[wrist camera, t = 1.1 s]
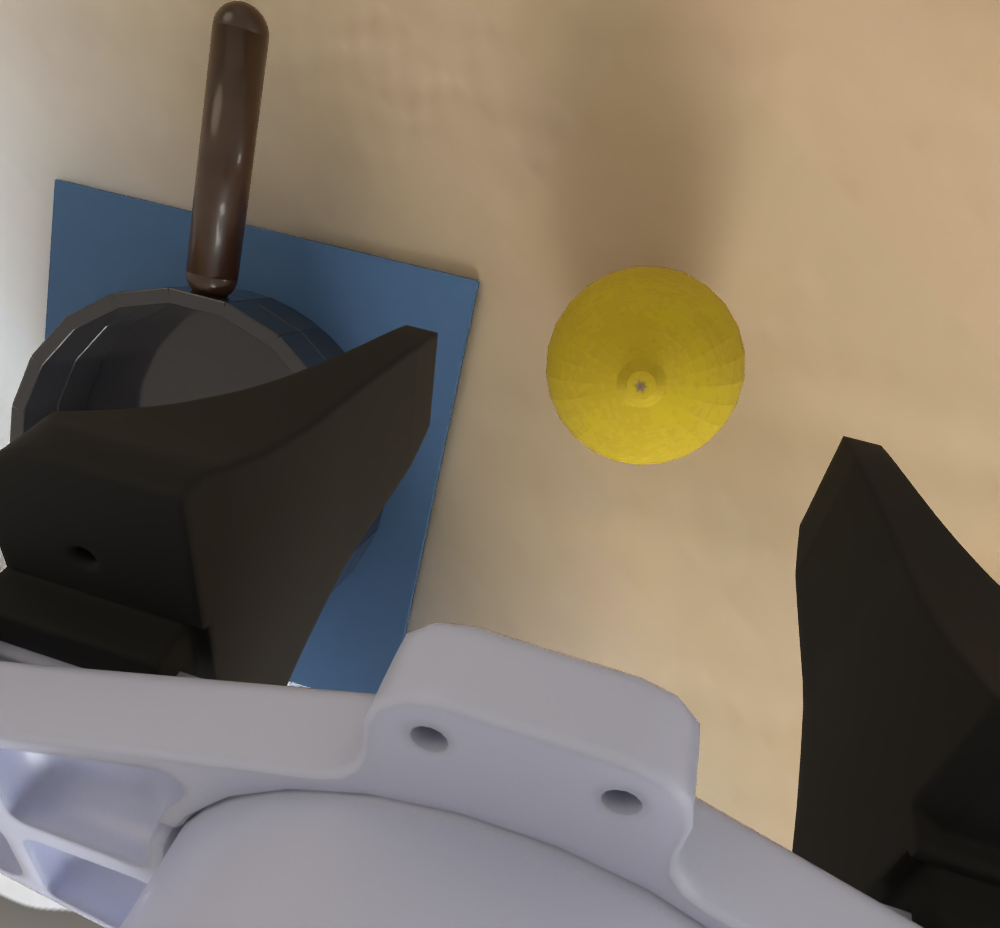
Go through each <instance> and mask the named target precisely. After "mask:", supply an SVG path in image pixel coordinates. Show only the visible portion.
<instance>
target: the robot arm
mask: <svg viewBox="0 0 1000 928" xmlns="http://www.w3.org/2000/svg"><path fill="white" fill-rule="evenodd" d="M437 340H438V333H437V332H433V331H429V330H425V329H421V328H417V327H413V326H409V325H405V326H402V327H399V328H397V329H395V330H392V331H390V332H388V333H386V334H384V335H381V336H379V337H377V338H375V339H373V340H371V341H369V342H367V343H365V344H362V345H360V346H358V347H356V348H354V349H352V350H349V351H347V352H345V353H343V354H341V355H338V356H336V357H334V358H332V359H329V360H327V361H324V362H322V363H319V364H317V365H314V366H312V367H309V368H307V369H304V370H302V371H299V372H297V373H294V374H292V375H289V376H286V377H283V378H280V379H278V380H274V381H271V382H268V383H265V384H261V385H258V386H254V387H251V388H247V389H244V390H240V391H236V392H232V393H227V394H222V395H217V396H212V397H207V398H202V399H197V400H192V401H187V402H181V403H174V404H166V405H159V406H150V407H140V408H130V409H117V410H91V411H53V412H52V413H50V414H49V415H48V416H46V417H45V418H44V419H42V420H41V421H40V422H38V423H37V424H36V425H34V426H33V427H31V428H30V429H29V430H27V431H26V432H25V433H23V434H22V435H21V436H19V437H18V438H17V439H15V440H14V441H13V442H11V443H10V444H9V445H7V446H6V447H4V448H3V449H2V450H0V548H1V551H2V553H3V556H4V559H5V562H6V565H7V567H6V568H5V569H4V570H3V571H2V572H1V573H0V873H1V874H3V875H5V876H7V877H9V878H10V879H12V880H14V881H16V882H18V883H20V884H22V885H24V886H26V887H28V888H30V889H32V890H34V891H35V892H37V893H39V894H41V895H43V896H45V897H47V898H49V899H51V900H53V901H55V902H57V903H59V904H60V905H62V906H64V907H66V908H68V909H70V910H72V911H74V912H76V913H78V914H80V915H82V916H84V917H86V918H87V919H89V920H91V921H93V922H95V923H97V924H99V925H101V926H103V927H105V928H1000V586H999V585H998V584H997V583H996V582H995V581H994V580H993V579H992V578H991V577H990V576H989V575H988V574H987V573H986V572H985V571H984V570H983V569H982V568H981V567H980V565H979V564H978V563H977V562H976V561H975V560H974V559H973V558H972V557H971V556H970V554H969V553H968V552H967V551H966V550H965V549H964V548H963V547H962V546H961V545H960V543H959V542H958V541H957V540H956V539H955V538H954V537H953V535H952V534H951V533H950V532H949V531H948V529H947V528H946V527H945V526H944V525H943V523H942V522H941V521H940V520H939V519H938V517H937V516H936V515H935V514H934V512H933V511H932V510H931V509H930V507H929V506H928V505H927V504H926V502H925V501H924V500H923V498H922V497H921V496H920V495H919V493H918V492H917V491H916V489H915V488H914V487H913V485H912V484H911V483H910V481H909V480H908V479H907V477H906V476H905V475H904V474H903V472H902V471H901V470H900V468H899V467H898V466H897V464H896V463H895V462H894V461H893V459H892V458H891V457H890V456H889V454H888V453H887V452H886V451H885V450H884V449H883V447H882V446H880V445H876V444H873V443H869V442H865V441H861V440H857V439H853V438H849V437H845V436H843V438H842V440H841V442H840V445H839V447H838V449H837V451H836V453H835V455H834V457H833V459H832V461H831V463H830V465H829V467H828V469H827V471H826V473H825V475H824V477H823V479H822V481H821V483H820V485H819V487H818V489H817V492H816V494H815V496H814V498H813V500H812V502H811V504H810V506H809V508H808V510H807V512H806V514H805V516H804V518H803V520H802V522H801V524H800V528H799V538H798V548H797V561H796V592H797V608H798V622H799V636H800V649H801V663H802V677H803V721H802V740H801V758H800V771H799V785H798V798H797V810H796V820H795V830H794V840H793V850H792V852H791V851H789V850H788V849H786V848H784V847H782V846H781V845H779V844H777V843H775V842H774V841H772V840H770V839H769V838H767V837H765V836H763V835H762V834H760V833H758V832H756V831H755V830H753V829H751V828H749V827H748V826H746V825H744V824H742V823H741V822H739V821H737V820H736V819H734V818H732V817H730V816H729V815H727V814H725V813H723V812H722V811H720V810H718V809H716V808H715V807H713V806H711V805H709V804H708V803H706V802H704V801H702V800H701V799H699V798H697V797H696V796H695V794H696V782H697V771H698V759H699V743H700V723H699V722H698V721H697V719H696V718H695V717H694V716H693V714H692V713H691V712H690V711H689V709H688V708H687V707H686V706H685V704H684V703H683V702H682V701H681V699H680V698H679V697H678V696H676V695H675V694H673V693H671V692H669V691H667V690H665V689H663V688H661V687H659V686H657V685H655V684H653V683H651V682H649V681H647V680H645V679H643V678H641V677H638V676H635V675H632V674H628V673H625V672H622V671H618V670H615V669H612V668H609V667H605V666H602V665H599V664H596V663H592V662H589V661H586V660H582V659H579V658H576V657H573V656H569V655H566V654H563V653H559V652H556V651H553V650H550V649H546V648H543V647H540V646H537V645H533V644H530V643H527V642H523V641H520V640H517V639H514V638H510V637H507V636H504V635H501V634H497V633H494V632H491V631H487V630H484V629H481V628H478V627H474V626H465V625H457V624H448V623H433V624H430V625H428V626H425V627H422V628H419V629H416V630H414V631H411V632H408V633H407V634H406V636H405V638H404V639H403V641H402V643H401V645H400V647H399V649H398V651H397V652H396V654H395V656H394V658H393V660H392V662H391V665H390V667H389V669H388V671H387V673H386V675H385V677H384V679H383V681H382V683H381V685H380V687H379V689H378V691H377V693H376V694H373V693H361V692H350V691H338V690H327V689H315V688H304V687H292V686H287V684H288V682H289V679H290V677H291V675H292V673H293V671H294V668H295V666H296V664H297V662H298V660H299V657H300V655H301V653H302V651H303V649H304V647H305V645H306V643H307V641H308V638H309V636H310V634H311V632H312V630H313V628H314V626H315V624H316V622H317V620H318V618H319V616H320V614H321V612H322V610H323V608H324V606H325V604H326V602H327V600H328V598H329V596H330V594H331V592H332V590H333V588H334V586H335V584H336V582H337V580H338V578H339V576H340V574H341V572H342V570H343V569H344V567H345V565H346V563H347V562H348V560H349V558H350V557H351V555H352V553H353V552H354V550H355V548H356V547H357V545H358V544H359V542H360V541H361V540H362V538H363V537H364V535H365V534H366V532H367V531H368V529H369V528H370V526H371V525H372V523H373V522H374V520H375V519H376V517H377V516H378V514H379V513H380V511H381V510H382V508H383V507H384V505H385V504H386V503H387V501H388V500H389V498H390V497H391V495H392V494H393V492H394V491H395V489H396V488H397V486H398V485H399V483H400V481H401V480H402V478H403V477H404V475H405V474H406V472H407V471H408V469H409V468H410V466H411V464H412V462H413V460H414V458H415V456H416V454H417V452H418V450H419V448H420V445H421V443H422V441H423V439H424V437H425V435H426V432H427V430H428V428H429V426H430V417H431V406H432V395H433V384H434V373H435V362H436V351H437Z"/></svg>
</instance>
